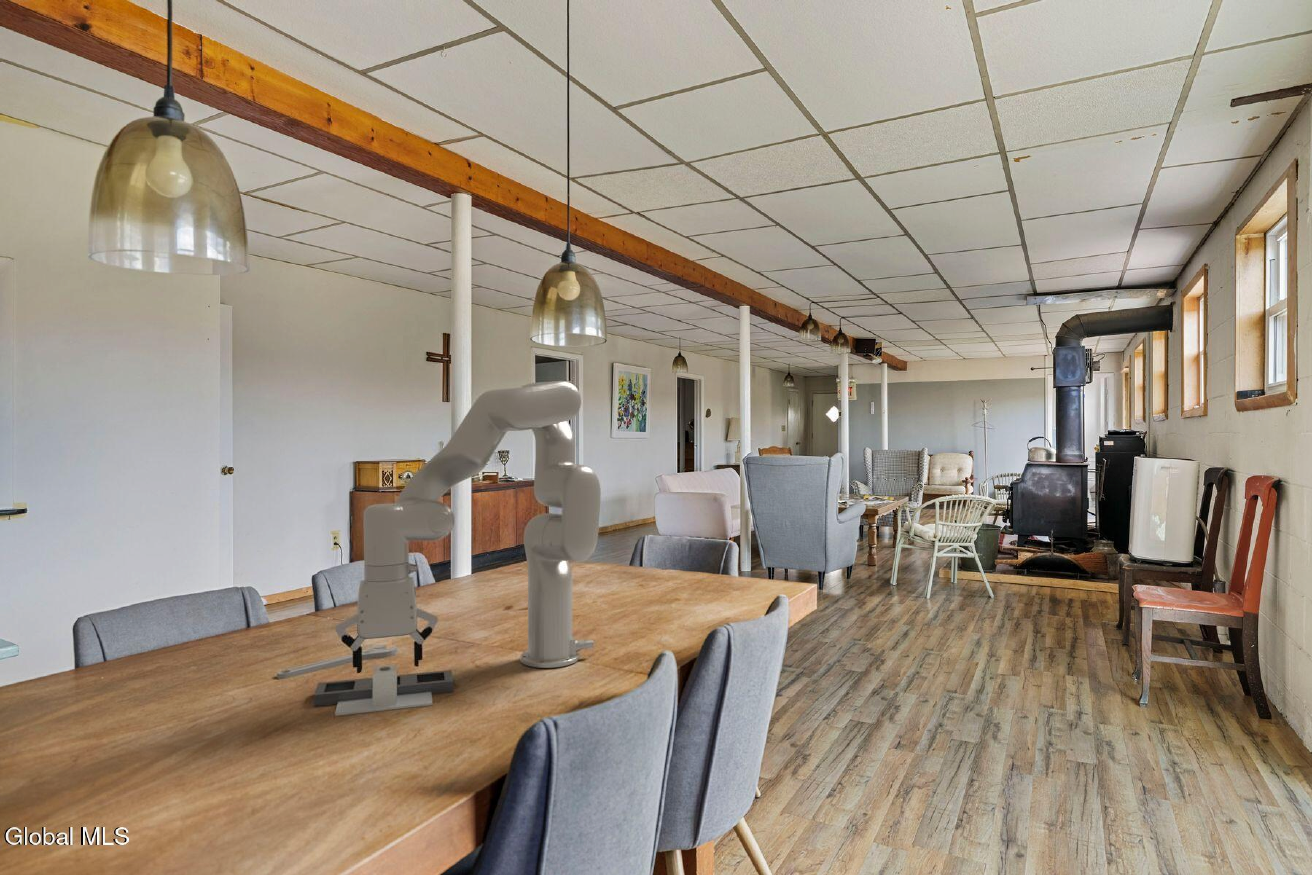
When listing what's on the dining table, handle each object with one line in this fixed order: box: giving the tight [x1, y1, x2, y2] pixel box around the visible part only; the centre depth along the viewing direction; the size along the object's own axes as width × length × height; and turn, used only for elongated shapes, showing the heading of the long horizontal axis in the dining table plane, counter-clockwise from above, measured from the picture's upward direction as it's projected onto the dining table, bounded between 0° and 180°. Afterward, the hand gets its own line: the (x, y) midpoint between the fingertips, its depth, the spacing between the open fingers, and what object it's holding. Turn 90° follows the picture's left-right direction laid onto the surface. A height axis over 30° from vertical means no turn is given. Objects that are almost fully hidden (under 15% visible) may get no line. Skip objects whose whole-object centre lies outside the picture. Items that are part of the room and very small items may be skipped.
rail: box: [313, 669, 454, 707], centre depth 136 cm, size 24×7×2 cm, turn 109°
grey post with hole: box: [372, 664, 398, 707], centre depth 129 cm, size 4×4×6 cm
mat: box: [334, 692, 433, 717], centre depth 129 cm, size 16×6×1 cm, turn 109°
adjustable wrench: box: [276, 644, 399, 680], centre depth 154 cm, size 25×6×2 cm, turn 135°
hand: (388, 667), depth 130 cm, fingers open, 9 cm apart
